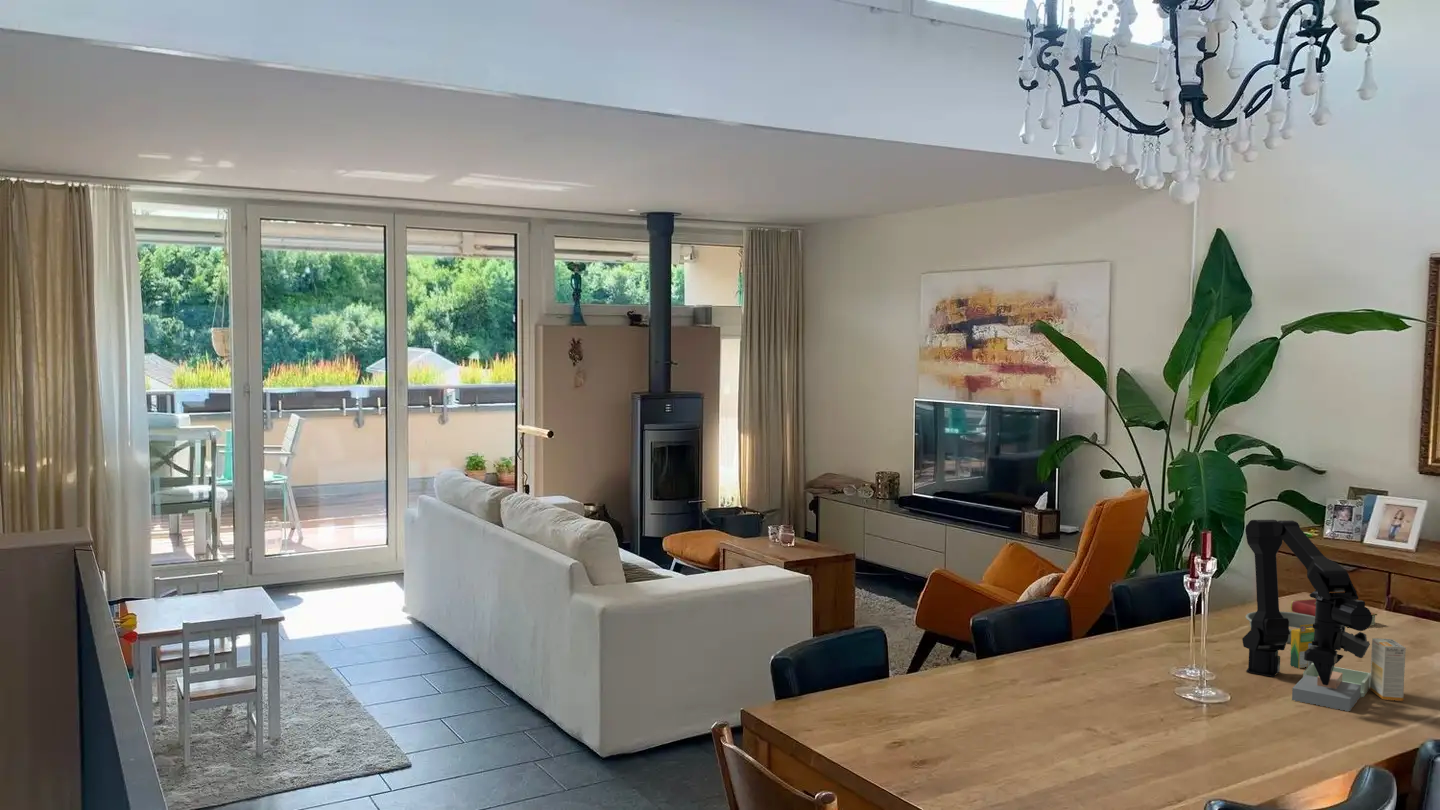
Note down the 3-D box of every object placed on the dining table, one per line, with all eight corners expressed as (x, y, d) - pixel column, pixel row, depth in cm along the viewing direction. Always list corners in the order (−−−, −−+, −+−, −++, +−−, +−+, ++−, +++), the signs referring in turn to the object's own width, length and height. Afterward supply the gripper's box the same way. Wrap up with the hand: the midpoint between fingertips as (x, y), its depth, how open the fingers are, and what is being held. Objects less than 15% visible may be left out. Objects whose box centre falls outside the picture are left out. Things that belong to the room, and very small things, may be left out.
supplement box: (1404, 701, 258) (1407, 647, 257) (1382, 700, 259) (1384, 646, 258) (1390, 691, 266) (1393, 638, 265) (1368, 689, 267) (1371, 637, 266)
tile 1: (1317, 685, 260) (1317, 677, 260) (1320, 681, 263) (1321, 673, 263) (1336, 688, 257) (1336, 680, 257) (1339, 684, 260) (1339, 676, 260)
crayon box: (1310, 663, 289) (1312, 620, 288) (1320, 666, 286) (1322, 623, 286) (1289, 665, 287) (1291, 622, 286) (1298, 668, 284) (1300, 625, 283)
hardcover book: (1345, 629, 327) (1346, 615, 327) (1290, 612, 347) (1291, 599, 347) (1376, 626, 331) (1377, 613, 331) (1320, 610, 351) (1320, 597, 351)
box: (1302, 686, 269) (1302, 672, 269) (1311, 676, 277) (1312, 662, 277) (1363, 697, 260) (1363, 683, 260) (1371, 687, 269) (1371, 673, 269)
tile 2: (1320, 681, 263) (1320, 673, 263) (1323, 677, 266) (1324, 669, 266) (1338, 684, 260) (1339, 676, 260) (1342, 681, 264) (1342, 673, 263)
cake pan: (1357, 648, 306) (1358, 632, 306) (1270, 646, 306) (1270, 630, 306) (1311, 625, 330) (1311, 610, 330) (1230, 624, 331) (1230, 609, 330)
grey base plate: (1291, 700, 258) (1292, 688, 258) (1304, 686, 268) (1305, 674, 268) (1349, 711, 250) (1349, 699, 250) (1360, 697, 261) (1360, 684, 261)
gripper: (1360, 633, 245) (1356, 701, 246) (1374, 619, 259) (1371, 683, 260) (1305, 625, 252) (1302, 691, 253) (1322, 611, 266) (1319, 673, 267)
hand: (1325, 684), depth 258 cm, fingers closed
